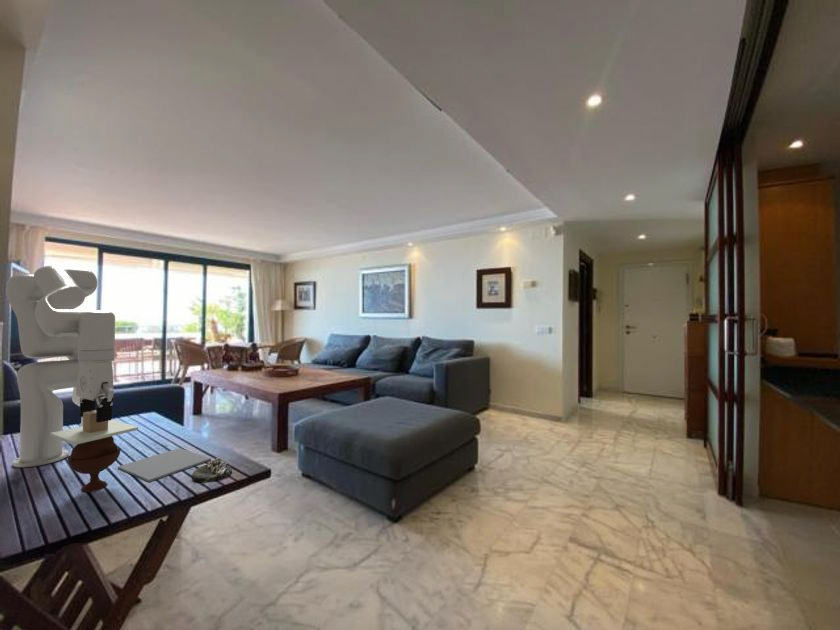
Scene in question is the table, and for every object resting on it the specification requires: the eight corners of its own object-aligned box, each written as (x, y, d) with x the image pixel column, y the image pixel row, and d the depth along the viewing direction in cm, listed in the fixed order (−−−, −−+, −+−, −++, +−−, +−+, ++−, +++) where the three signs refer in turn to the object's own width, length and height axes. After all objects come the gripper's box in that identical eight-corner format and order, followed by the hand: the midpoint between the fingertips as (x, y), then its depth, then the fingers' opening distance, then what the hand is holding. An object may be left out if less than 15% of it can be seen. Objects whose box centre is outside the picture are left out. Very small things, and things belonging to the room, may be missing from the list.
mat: (117, 468, 112) (117, 466, 112) (179, 449, 128) (179, 448, 128) (148, 482, 104) (149, 479, 104) (210, 460, 120) (210, 458, 120)
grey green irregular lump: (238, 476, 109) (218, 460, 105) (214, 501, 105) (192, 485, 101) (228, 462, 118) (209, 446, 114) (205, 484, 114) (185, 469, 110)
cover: (50, 435, 97) (50, 414, 97) (113, 422, 110) (114, 403, 110) (73, 445, 91) (73, 421, 91) (138, 429, 103) (138, 409, 103)
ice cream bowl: (114, 475, 108) (114, 424, 108) (123, 486, 101) (124, 432, 101) (64, 487, 99) (65, 433, 99) (71, 501, 92) (72, 442, 92)
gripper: (65, 355, 101) (64, 416, 101) (93, 359, 93) (92, 427, 93) (99, 352, 107) (98, 410, 107) (128, 357, 99) (127, 419, 99)
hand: (95, 418), depth 100 cm, fingers open, 9 cm apart
